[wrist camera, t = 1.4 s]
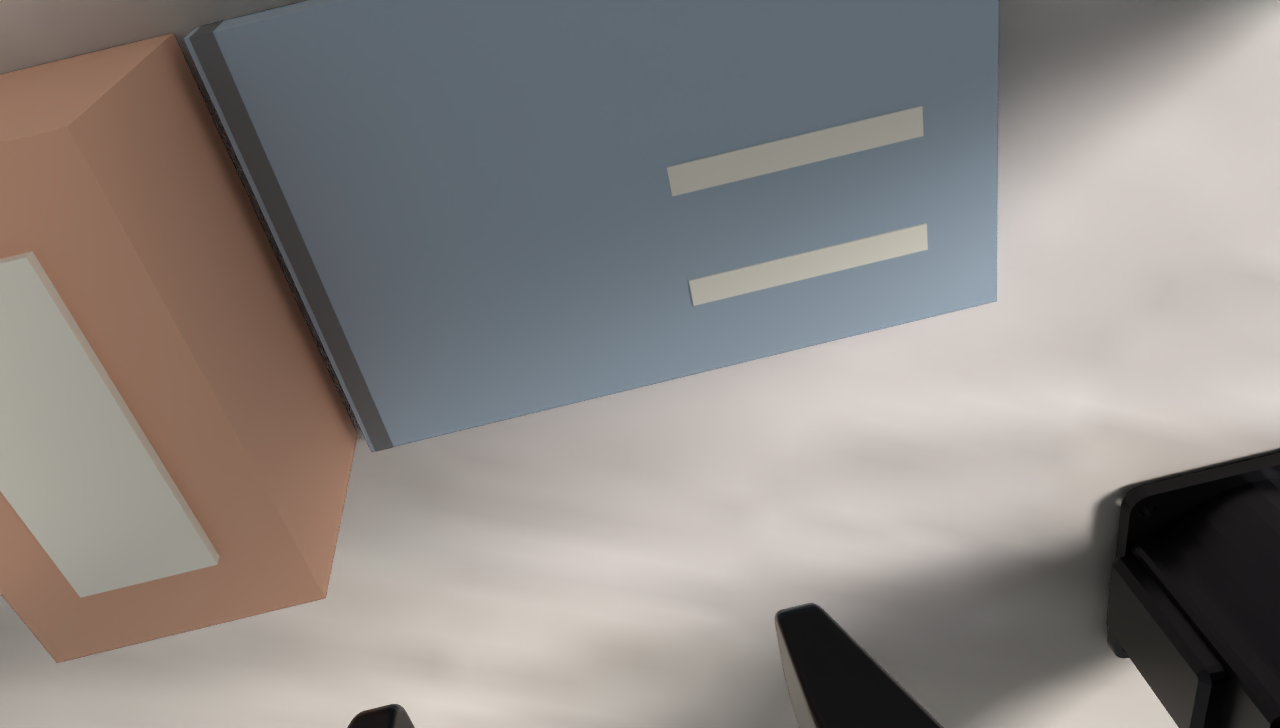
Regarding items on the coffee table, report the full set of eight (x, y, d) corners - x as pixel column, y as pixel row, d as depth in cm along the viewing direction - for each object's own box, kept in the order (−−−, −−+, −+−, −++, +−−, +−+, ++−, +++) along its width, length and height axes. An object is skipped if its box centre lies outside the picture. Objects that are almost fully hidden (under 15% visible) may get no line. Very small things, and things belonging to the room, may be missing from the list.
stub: (173, 33, 17) (61, 130, 12) (357, 434, 22) (323, 606, 17) (-108, 100, 17) (-318, 222, 12) (141, 486, 22) (53, 671, 17)
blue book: (979, -161, 17) (1000, -157, 16) (981, 284, 22) (997, 302, 21) (195, 28, 17) (182, 39, 16) (375, 430, 22) (370, 453, 21)
